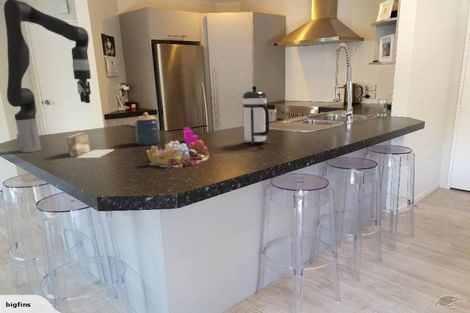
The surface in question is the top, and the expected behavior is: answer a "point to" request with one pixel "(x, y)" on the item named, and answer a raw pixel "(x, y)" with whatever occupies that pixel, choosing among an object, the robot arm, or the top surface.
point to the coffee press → (255, 116)
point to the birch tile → (78, 144)
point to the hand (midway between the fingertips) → (85, 102)
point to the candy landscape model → (177, 154)
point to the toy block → (189, 136)
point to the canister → (147, 130)
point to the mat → (95, 153)
